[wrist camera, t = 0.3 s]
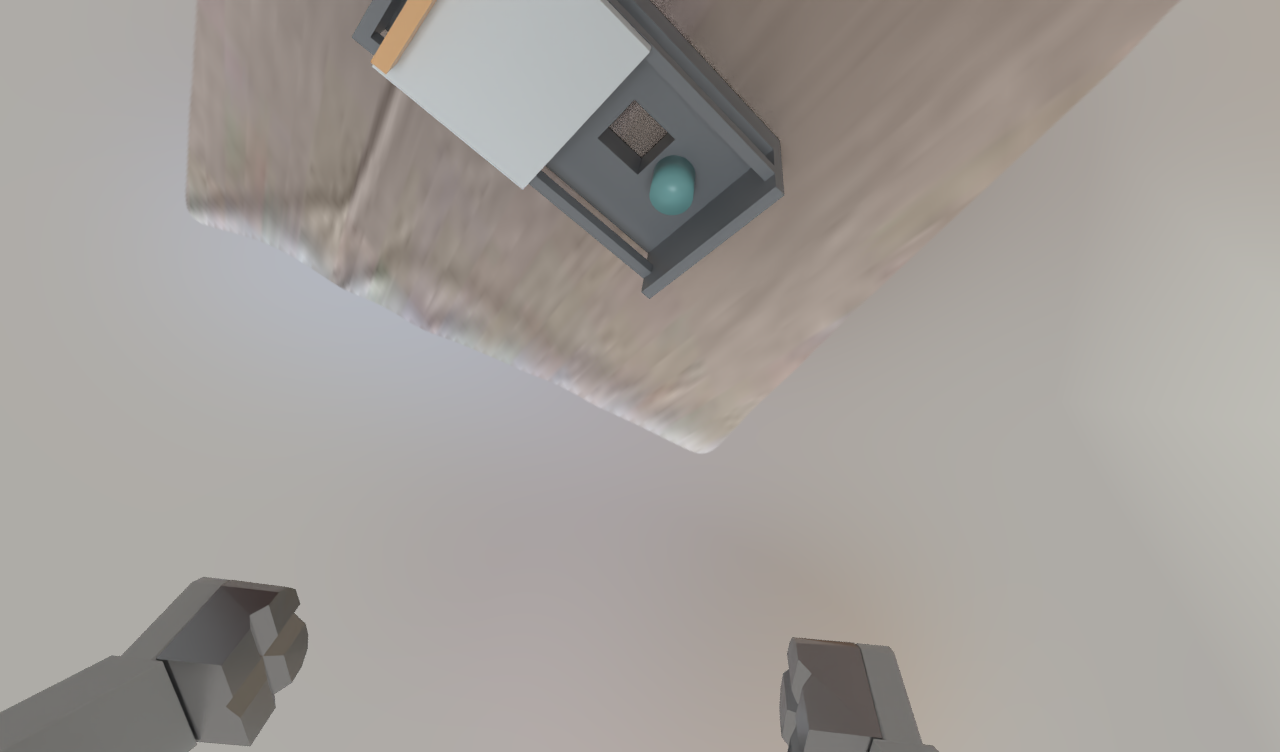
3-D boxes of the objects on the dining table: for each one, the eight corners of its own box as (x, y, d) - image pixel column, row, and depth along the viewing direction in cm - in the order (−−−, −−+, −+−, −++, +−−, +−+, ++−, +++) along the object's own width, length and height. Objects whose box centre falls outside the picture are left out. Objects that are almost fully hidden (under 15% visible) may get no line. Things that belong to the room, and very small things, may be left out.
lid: (489, -122, 40) (475, -113, 38) (651, 46, 45) (647, 63, 43) (377, 61, 48) (360, 77, 46) (525, 183, 54) (516, 202, 52)
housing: (491, -171, 44) (449, -150, 38) (779, 140, 57) (784, 195, 50) (388, 6, 52) (339, 47, 46) (658, 241, 65) (649, 298, 59)
